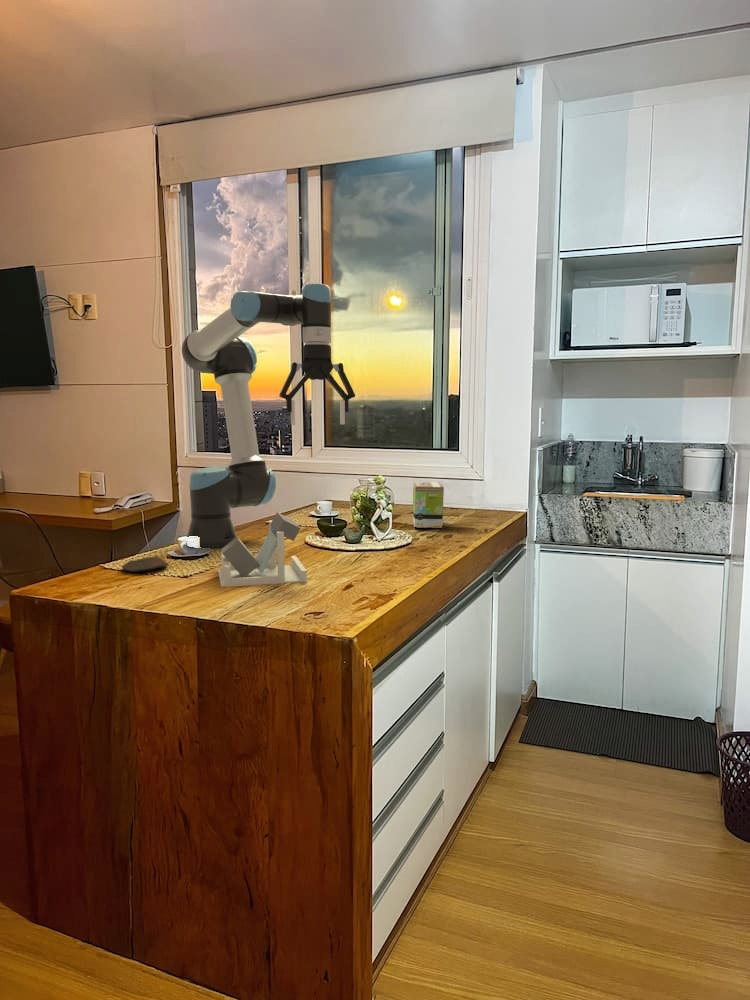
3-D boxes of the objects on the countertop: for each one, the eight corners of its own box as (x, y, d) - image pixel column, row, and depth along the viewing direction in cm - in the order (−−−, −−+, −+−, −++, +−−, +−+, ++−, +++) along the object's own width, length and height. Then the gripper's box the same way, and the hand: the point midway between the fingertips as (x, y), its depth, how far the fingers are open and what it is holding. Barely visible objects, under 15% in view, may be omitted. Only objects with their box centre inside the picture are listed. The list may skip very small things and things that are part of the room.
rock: (129, 574, 178) (128, 564, 178) (117, 569, 188) (116, 559, 188) (173, 568, 184) (172, 557, 184) (160, 563, 194) (159, 553, 194)
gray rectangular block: (243, 578, 175) (222, 553, 173) (241, 573, 180) (221, 549, 178) (259, 565, 176) (238, 540, 174) (257, 560, 180) (237, 536, 178)
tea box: (443, 529, 245) (444, 486, 243) (413, 529, 245) (414, 486, 243) (440, 522, 260) (440, 481, 258) (412, 522, 260) (412, 481, 258)
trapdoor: (267, 567, 186) (252, 559, 184) (292, 519, 186) (276, 512, 184) (274, 579, 173) (257, 571, 172) (300, 528, 173) (283, 520, 172)
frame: (217, 571, 185) (216, 523, 183) (295, 566, 190) (295, 519, 188) (221, 588, 168) (219, 535, 166) (306, 582, 173) (306, 531, 171)
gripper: (271, 342, 186) (273, 425, 189) (365, 344, 192) (366, 424, 195) (268, 344, 193) (269, 424, 196) (359, 346, 199) (359, 423, 202)
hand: (317, 424), depth 196 cm, fingers open, 13 cm apart
